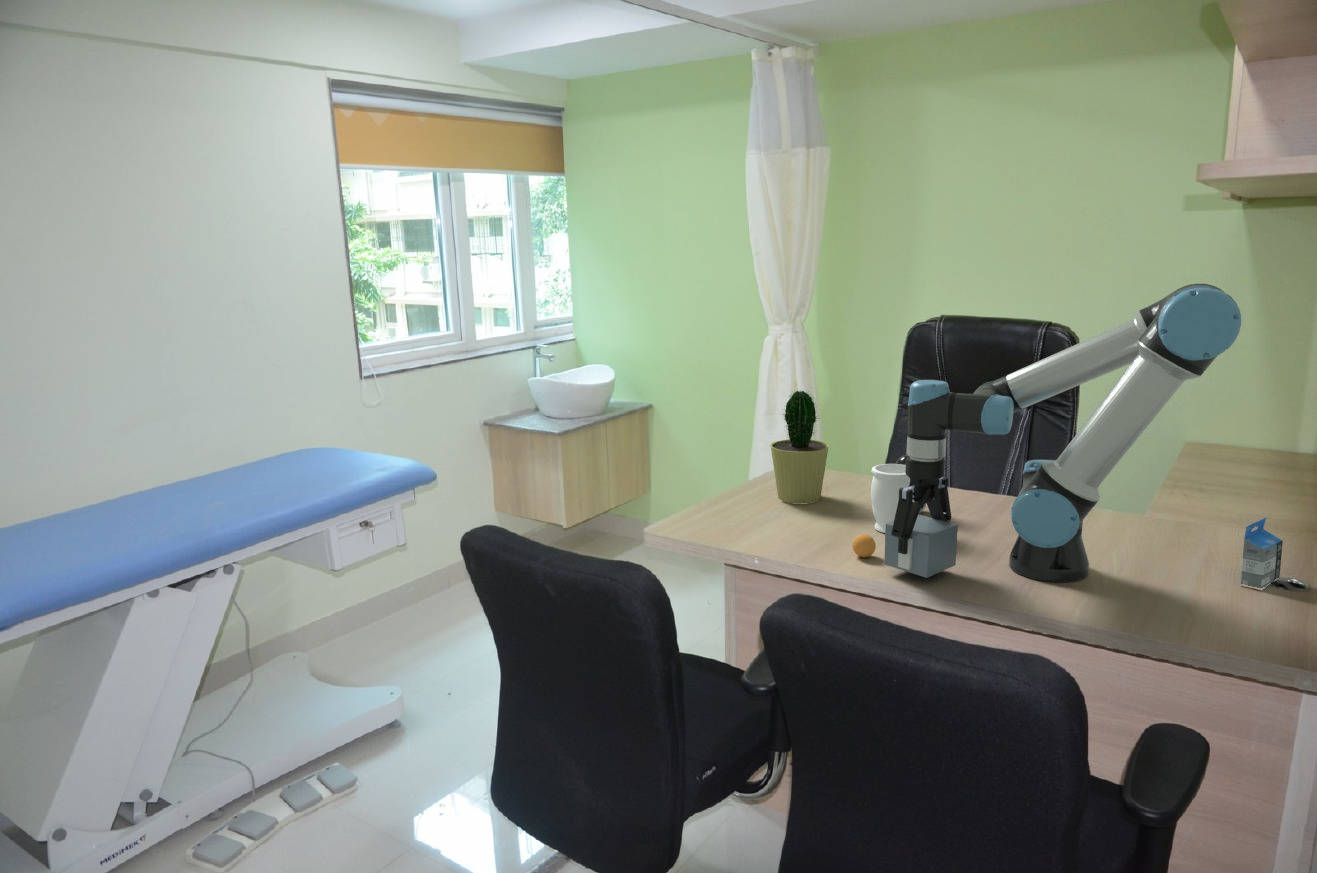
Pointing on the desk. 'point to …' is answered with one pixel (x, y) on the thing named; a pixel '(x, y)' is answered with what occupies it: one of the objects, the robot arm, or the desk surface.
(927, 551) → the slate gray cube
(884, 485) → the jar
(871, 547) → the ball
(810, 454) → the potted cactus
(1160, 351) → the robot arm
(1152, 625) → the desk surface
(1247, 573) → the label tape box
